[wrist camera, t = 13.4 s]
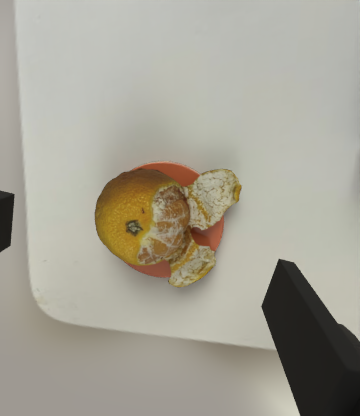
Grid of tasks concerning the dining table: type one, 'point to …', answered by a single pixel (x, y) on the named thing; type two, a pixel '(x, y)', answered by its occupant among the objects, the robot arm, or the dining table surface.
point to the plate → (201, 237)
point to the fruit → (164, 219)
